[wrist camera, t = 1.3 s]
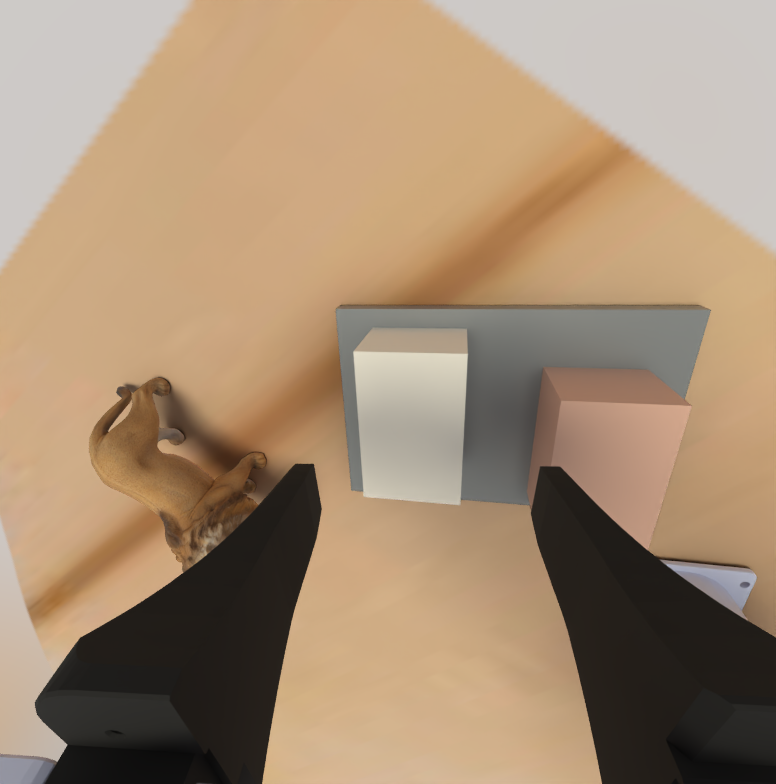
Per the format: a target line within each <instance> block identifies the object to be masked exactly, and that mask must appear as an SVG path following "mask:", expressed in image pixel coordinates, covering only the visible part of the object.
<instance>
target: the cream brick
mask: <svg viewBox="0 0 776 784" xmlns="http://www.w3.org/2000/svg"><path fill="white" fill-rule="evenodd" d="M353 354H354V368H355V382H356V396H357V410H358V423H359V437H360V451H361V465H362V478H363V492H364V497H371V498H383V499H394V500H406V501H418V502H429V503H441V504H452V505H460V502H461V481H462V461H463V441H464V420H465V400H466V379H467V359H468V346H467V329H463V328H372V329H371V330H370V332H369V333H368V334H367V335H366V337H365V338H364V339H363V340H362V341H361V343H360V344H359V345H358V346H357V348H356V349H355V350H354V351H353Z"/></svg>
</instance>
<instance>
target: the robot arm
mask: <svg viewBox="0 0 776 784" xmlns="http://www.w3.org/2000/svg"><path fill="white" fill-rule="evenodd" d="M321 510H322V508H321V503H320V497H319V491H318V485H317V480H316V474H315V468H314V464H295V465H294V466H293V467H292V468H291V469H290V470H289V471H288V473H287V474H286V475H285V476H284V477H283V478H282V480H281V481H280V482H279V483H278V484H277V485H276V487H275V488H274V489H273V490H272V491H271V492H270V493H269V495H268V496H267V497H266V498H265V499H264V500H263V501H262V502H261V503H260V504H259V505H258V506H257V508H256V509H255V510H254V511H253V512H252V513H251V514H250V515H249V516H248V517H247V518H246V519H245V520H244V521H243V522H242V523H241V524H240V525H239V526H238V527H237V528H236V529H235V530H234V531H233V532H232V533H231V534H230V535H229V536H227V537H226V538H225V539H224V540H223V541H222V542H221V543H220V544H219V545H218V546H216V547H215V548H214V549H213V550H212V551H211V552H209V553H208V554H207V555H206V556H205V557H203V558H202V559H201V560H200V561H198V562H197V563H196V564H194V565H193V566H192V567H190V568H189V569H188V570H186V571H185V572H184V573H182V574H181V575H180V576H178V577H177V578H176V579H174V580H173V581H172V582H170V583H169V584H168V585H166V586H165V587H163V588H162V589H160V590H159V591H157V592H156V593H154V594H153V595H151V596H150V597H148V598H147V599H145V600H144V601H142V602H140V603H139V604H137V605H136V606H134V607H133V608H131V609H129V610H128V611H126V612H124V613H123V614H121V615H119V616H118V617H116V618H114V619H112V620H111V621H109V622H107V623H105V624H104V625H102V626H100V627H99V628H97V629H95V630H93V631H92V632H90V633H88V634H86V635H84V636H83V637H81V638H80V639H79V640H78V642H77V643H76V644H75V645H74V647H73V648H72V650H71V651H70V652H69V654H68V655H67V656H66V658H65V659H64V661H63V662H62V663H61V665H60V666H59V668H58V669H57V671H56V672H55V673H54V675H53V676H52V678H51V679H50V681H49V682H48V683H47V685H46V686H45V688H44V689H43V691H42V692H41V693H40V695H39V696H38V698H37V700H36V702H35V708H36V712H37V715H38V716H39V717H40V719H41V720H42V721H43V722H44V723H45V724H46V725H47V726H48V727H49V728H50V729H51V730H53V732H55V733H56V734H57V735H58V736H59V737H60V738H61V739H62V740H63V741H64V742H65V743H66V744H67V747H66V749H65V750H64V752H63V754H62V755H61V757H60V759H59V760H58V762H56V761H54V760H51V759H48V758H43V757H36V756H22V755H7V754H0V784H262V780H263V773H264V767H265V761H266V755H267V748H268V742H269V736H270V730H271V724H272V718H273V713H274V707H275V702H276V696H277V690H278V685H279V680H280V675H281V670H282V664H283V659H284V654H285V649H286V645H287V640H288V635H289V631H290V626H291V621H292V617H293V613H294V610H295V606H296V603H297V599H298V596H299V593H300V590H301V587H302V583H303V580H304V577H305V574H306V571H307V567H308V564H309V561H310V558H311V555H312V551H313V548H314V545H315V541H316V538H317V532H318V527H319V522H320V516H321ZM531 516H532V521H533V525H534V530H535V534H536V539H537V543H538V546H539V549H540V552H541V555H542V558H543V561H544V564H545V566H546V569H547V572H548V575H549V578H550V580H551V583H552V586H553V589H554V592H555V594H556V597H557V600H558V603H559V606H560V608H561V611H562V614H563V617H564V620H565V623H566V627H567V630H568V633H569V637H570V641H571V645H572V649H573V653H574V657H575V661H576V665H577V669H578V673H579V678H580V682H581V686H582V690H583V695H584V699H585V703H586V708H587V712H588V717H589V721H590V726H591V731H592V735H593V740H594V745H595V749H596V754H597V759H598V765H599V770H600V775H601V780H602V784H776V637H774V636H772V635H770V634H769V633H767V632H766V631H764V630H762V629H761V628H759V627H757V626H756V625H754V624H752V623H751V622H749V621H748V619H747V618H746V617H745V615H744V614H743V612H742V609H743V607H744V605H745V603H746V601H747V599H748V596H749V594H750V592H751V590H752V588H753V586H754V584H755V581H756V579H757V576H756V575H755V573H754V572H753V571H752V570H750V569H747V568H738V567H728V566H718V565H708V564H698V563H688V562H678V561H668V560H659V559H658V558H657V557H655V556H654V555H653V554H652V553H650V552H649V551H648V550H647V549H646V548H644V547H643V546H642V545H641V544H640V543H638V542H637V541H636V540H635V539H634V538H633V537H632V536H630V535H629V534H628V533H627V532H626V531H625V530H624V529H622V528H621V527H620V526H619V525H618V524H617V523H616V522H615V521H614V520H613V519H612V518H611V517H610V516H609V515H608V514H607V513H606V512H604V511H603V510H602V509H601V508H600V507H599V506H598V505H597V504H596V503H595V502H594V501H593V500H592V499H591V498H590V497H589V496H588V495H587V494H586V493H585V491H584V490H583V489H582V488H581V487H580V486H579V485H578V484H577V483H576V482H575V481H574V480H573V479H572V478H571V477H570V476H569V475H568V474H567V473H566V472H565V471H564V470H563V469H562V468H561V467H560V466H540V469H539V474H538V479H537V485H536V490H535V495H534V500H533V505H532V510H531Z"/></svg>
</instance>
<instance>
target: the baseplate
mask: <svg viewBox="0 0 776 784" xmlns="http://www.w3.org/2000/svg"><path fill="white" fill-rule="evenodd" d="M710 311H711V310H710V309H707V308H705V307H702V306H699V305H340V306H339V307H338V308H336V319H337V331H338V342H339V353H340V365H341V376H342V388H343V399H344V411H345V422H346V434H347V445H348V456H349V468H350V479H351V490H352V491H363V478H362V465H361V451H360V437H359V423H358V410H357V396H356V382H355V368H354V354H353V351H354V350H355V349H356V348H357V346H358V345H359V344H360V343H361V341H362V340H363V339H364V338H365V337H366V335H367V334H368V333H369V332H370V330H371V329H372V328H463V329H467V346H468V359H467V379H466V400H465V420H464V441H463V461H462V481H461V500H472V501H484V502H496V503H508V504H520V505H530V503H529V499H528V494H527V487H528V479H529V472H530V464H531V457H532V449H533V441H534V434H535V426H536V418H537V411H538V403H539V396H540V388H541V380H542V373H543V367H566V368H605V369H643V370H649V371H651V372H652V373H653V374H654V375H655V376H657V377H658V378H659V379H660V380H661V381H663V382H664V383H665V384H666V385H667V386H669V387H670V388H671V389H672V390H673V391H675V392H676V393H677V394H678V395H679V396H681V397H682V398H683V399H684V400H685V396H686V393H687V389H688V386H689V383H690V379H691V376H692V372H693V369H694V366H695V362H696V359H697V355H698V352H699V349H700V345H701V342H702V338H703V335H704V332H705V328H706V325H707V321H708V318H709V315H710Z"/></svg>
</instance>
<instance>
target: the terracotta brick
mask: <svg viewBox="0 0 776 784" xmlns="http://www.w3.org/2000/svg"><path fill="white" fill-rule="evenodd" d="M691 408H692V405H690V404H689V403H688V402H687V401H686V400H684V399H683V398H682V397H681V396H679V395H678V394H677V393H676V392H675V391H673V390H672V389H671V388H670V387H669V386H667V385H666V384H665V383H664V382H663V381H661V380H660V379H659V378H658V377H657V376H655V375H654V374H653V373H652V372H651V371H649V370H643V369H605V368H566V367H543V373H542V380H541V388H540V396H539V403H538V411H537V418H536V426H535V434H534V441H533V449H532V457H531V464H530V472H529V479H528V487H527V494H528V499H529V503H530V507H531V510H532V505H533V500H534V495H535V490H536V485H537V479H538V474H539V469H540V466H560V467H561V468H562V469H563V470H564V471H565V472H566V473H567V474H568V475H569V476H570V477H571V478H572V479H573V480H574V481H575V482H576V483H577V484H578V485H579V486H580V487H581V488H582V489H583V490H584V491H585V493H586V494H587V495H588V496H589V497H590V498H591V499H592V500H593V501H594V502H595V503H596V504H597V505H598V506H599V507H600V508H601V509H602V510H603V511H604V512H606V513H607V514H608V515H609V516H610V517H611V518H612V519H613V520H614V521H615V522H616V523H617V524H618V525H619V526H620V527H621V528H622V529H624V530H625V531H626V532H627V533H628V534H629V535H630V536H632V537H633V538H634V539H635V540H636V541H637V542H638V543H640V544H641V545H642V546H643V547H644V548H646V549H647V550H648V549H649V546H650V542H651V539H652V536H653V532H654V529H655V526H656V523H657V519H658V516H659V513H660V509H661V506H662V503H663V500H664V496H665V493H666V490H667V486H668V483H669V480H670V477H671V473H672V470H673V467H674V464H675V460H676V457H677V454H678V450H679V447H680V444H681V441H682V437H683V434H684V431H685V427H686V424H687V421H688V418H689V414H690V411H691Z"/></svg>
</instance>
